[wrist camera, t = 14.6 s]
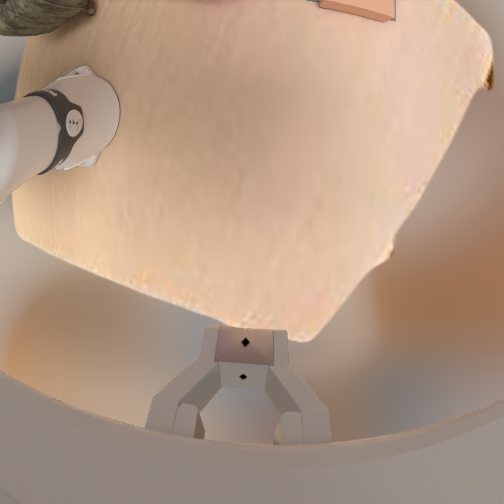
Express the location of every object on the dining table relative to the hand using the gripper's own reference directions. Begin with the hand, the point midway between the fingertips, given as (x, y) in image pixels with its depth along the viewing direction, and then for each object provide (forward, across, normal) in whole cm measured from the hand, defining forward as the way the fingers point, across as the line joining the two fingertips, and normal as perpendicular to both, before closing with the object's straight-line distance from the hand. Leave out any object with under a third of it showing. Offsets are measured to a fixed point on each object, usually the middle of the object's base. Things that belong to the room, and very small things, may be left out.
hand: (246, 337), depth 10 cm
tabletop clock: (+35, +33, -30) cm, 57 cm away
